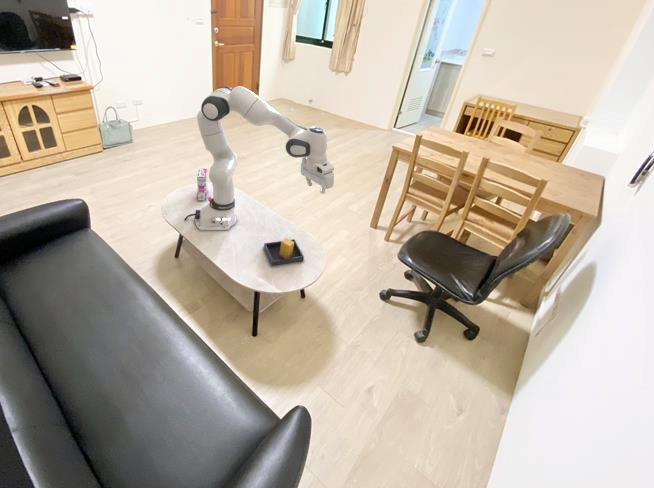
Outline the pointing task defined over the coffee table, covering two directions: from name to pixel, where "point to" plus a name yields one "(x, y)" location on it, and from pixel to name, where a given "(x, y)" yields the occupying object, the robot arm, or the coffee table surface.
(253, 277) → the coffee table surface
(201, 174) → the candy bar box
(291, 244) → the cheese
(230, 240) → the coffee table surface
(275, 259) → the pan
